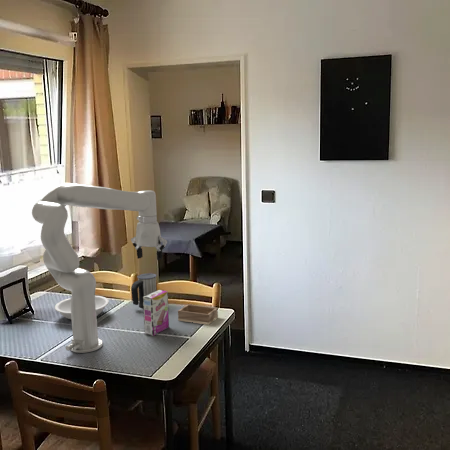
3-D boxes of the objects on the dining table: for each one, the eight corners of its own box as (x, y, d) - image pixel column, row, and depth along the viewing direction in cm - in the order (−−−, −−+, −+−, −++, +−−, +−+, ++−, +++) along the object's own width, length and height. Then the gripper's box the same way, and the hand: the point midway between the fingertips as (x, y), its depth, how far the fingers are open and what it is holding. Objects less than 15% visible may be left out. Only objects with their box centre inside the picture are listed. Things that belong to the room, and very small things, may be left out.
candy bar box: (153, 336, 219) (151, 298, 216) (144, 334, 222) (141, 296, 218) (170, 327, 228) (168, 290, 225) (160, 325, 231) (158, 289, 228)
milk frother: (145, 301, 263) (143, 272, 260) (173, 304, 257) (172, 274, 255) (129, 311, 250) (127, 280, 247) (159, 314, 244) (157, 283, 242)
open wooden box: (208, 324, 230) (208, 314, 229) (178, 320, 236) (177, 310, 235) (217, 317, 238) (217, 308, 237) (188, 313, 244) (187, 304, 243)
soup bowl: (102, 326, 232) (101, 312, 230) (48, 328, 232) (46, 313, 231) (115, 307, 255) (114, 294, 254) (65, 308, 256) (64, 295, 255)
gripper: (125, 220, 226) (127, 259, 229) (161, 222, 220) (163, 262, 223) (135, 217, 233) (137, 255, 236) (170, 219, 226) (171, 258, 229)
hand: (149, 258), depth 229 cm, fingers open, 9 cm apart
